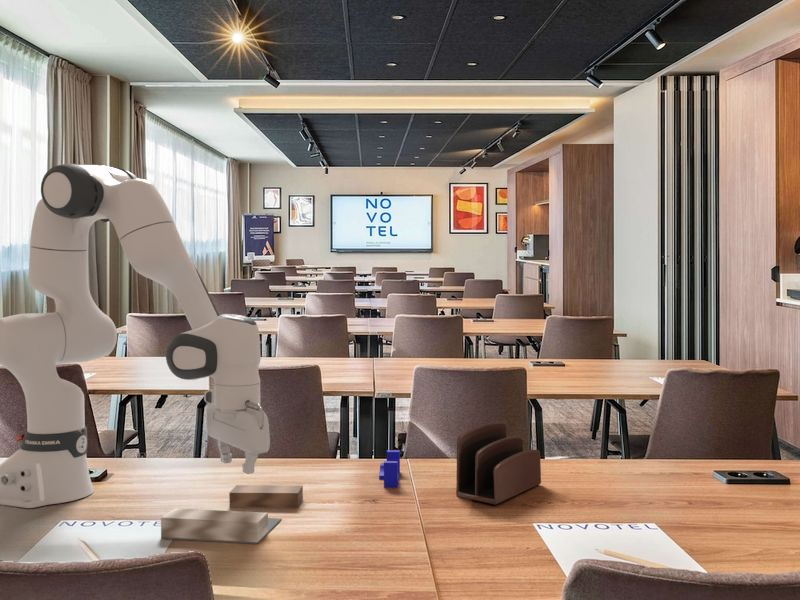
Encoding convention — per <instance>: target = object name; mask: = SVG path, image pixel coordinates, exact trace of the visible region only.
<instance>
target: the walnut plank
mask: <svg viewBox="0 0 800 600" xmlns="http://www.w3.org/2000/svg"><path fill="white" fill-rule="evenodd" d="M303 486H304V485H293V484H292V485H283V484H282V485H280V484H279V485H278V484H277V485H276V484H275V485H273V484H271V485H270V484H267V485H266V484H256V485H254V484H252V485H251V484H246V485H245V484H244V485H243V484H236V485H235V486H234V487H233V488H232V489H231V490H230V492H228V494H229V499H228V500H229V507H230V508H264V509H265V508H268V509H269V508H270V509H272V508H273V509H274V508H275V509H276V508H279V509H298V508H299V507H300V506H301V503H302V502H303V499H304V496H303V495H304V488H303Z"/></svg>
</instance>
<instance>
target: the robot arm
mask: <svg viewBox="0 0 800 600" xmlns="http://www.w3.org/2000/svg"><path fill="white" fill-rule="evenodd" d="M40 195H41V199H40V200H39V201H38V202H37V205H36V207H35V211H34V214H33V219H32V225H31V230H30V238H29V239H30V240H29V258H28V260H29V261H28V262H29V263H28V264H29V265H28V280H29V283H30V285H31V286H32V288H34V290H36V291H37V292H38V293H40V294H42V295H44V296H45V297H48V298H51V299H53V300H54V304H55V311H54V312H33V313H19V314H13V315H8V316H5V317H0V365H1V366H2V367H4V368H5V369H7V371H9V372H10V373H11V374H12V375H13V376H14V377H15V378H16V380H17V382H18V383H19V385H20V386H21V389H22V391H23V395H24V399H25V400H24V401H25V408H26V419H27V427H26V428H27V430H26V431H24V432H23V433H22V434H19V435H15V438H17V439H16V440H15V442H19V441H21V443H20V445H19V448H18V450H16V451H15V452H14V453H13V454H12V455H10V456H9V457H8V458H6V459H5V460H4V461H3V462H2V463H0V505H2V506H9V507H10V506H11V507H18V508H24V509H33V508H39V507H42V506H47V505H55V504H56V505H57V504H62V503H68V502H73V501H77V500H79V499H80V500H81V499H82V498H83V499H84V498H86V497H88V496H90V495H91V494H93V493H94V492H95V489H94V485H93V483H92V479H91V475H90V471H89V466H88V465H89V464H88V459H87V457H88V456H87V451H88V450H87V449H88V427H86V424H85V422H86V420H85V419H86V418H85V416H86V415H85V412H86V411H85V394H84V392H83V390H82V388H81V387H79V386H78V385H77V384H75V383H73V382H71V381H68V379H67V380H66V379H64V378H61V377H60V376H59V374H58V371H57V365H61V364H73V363H85V362H86V363H87V362H90V361H96V360H98V359H102V358H104V357H107V356H109V355H110V354H111V353H112V352H113V351H114V349H115V348H116V347H115V346H116V344H117V341H118V331H117V327H116V325H115V323H114V321H113V320H112V318H111V317H109V315H107V314H105V313H104V312H103V311H102V310H101V309H100V308H99V307H98V305H97V304H96V302H95V301H94V299H93V296H92V294H91V291H90V287H89V277H88V271H89V270H88V261H89V260H88V258H89V235H90V230H91V227H92V226H93V224H95V222H98V221H99V220H100V221H101V222H103V223H107V222H111V223H112V225H113V226H114V227H113V228H114V229H115V232H116V235H117V238H118V240H119V243H120V245H121V248H122V250H123V253H124V255H125V258H126V259H127V261H128V263H129V264H130V266H131V267H132V268H133V269H134V271H135V272H137V273H138V274H139V275H141V276H142V277H145V278H147V279H149V280H152V281H154V282H155V283H158V284H159V285H161V286H163V287H164V288H165V289H167V290H169V291H170V292H171V293H172V294H173V296H174V297H175V299H177V301H178V303H179V305H180V307H181V310H182V311H183V312H182V313H184V315H185V317H186V319H187V322H188V323H189V326H190V327H191V330H187V331H185V332H181V333H179V334H177V335H175V336H174V337H172V338H171V339H170V341H169V343H168V345H167V346H166V349H165V360H166V364H167V367H168V369H169V370H170V372H171V373H172V375H174V376H175V377H177V378H179V379H181V380H187V381H196V380H200V379H205V378H208V377H209V378H212V379H213V382H214V383H213V384H214V385H213V388H211V389H208V390H206V391H204V395H203V400H204V402H205V403H206V406H205V421H206V422H205V423H206V425H205V426H206V431H207V434H208V437H210V438H212V439H215V440H217V447H218V450H219V451H218V452H219V453H220V462H221V463H222V464H230V463H232V462H233V453H231V450H230V446H231V447H234V448H237V449H238V450H241V451H243V452H244V457H245V461H244V463H242V472H243V473H244V474H247V475H250V474H254V473H255V464H256V462H257V460H258V457H259V455H260V454H264V453H265V454H266V453H268V451H269V450H270V448H271V447H270V446H271V442H270V441H271V438H270V437H271V435H270V425H269V418H268V416H267V414H266V413H265V411H264V410H263V407H262V405H261V377H260V374H259V373H260V371H259V367H260V365H261V364H260V363H261V359H262V357H261V337H260V331H259V327H258V324H257V322H256V321H255V320H254V319H252V318H251V317H249V316H246V315H241V314H235V313H234V314H233V313H224V314H223V313H222V314H220V313H219V311H218V309H217V307H216V305H215V302H214V300H213V299H212V297H211V295H210V292H209V290H208V289H207V287H206V284H205V282H204V280H203V279H202V276H201V274H200V273H199V271H198V269H197V268H196V266H195V264H194V263H193V261H192V259H191V256H190V254H188V251H187V249H186V247H185V245H184V242H183V239H182V238H181V235H180V233H179V230H178V227H177V225H176V223H175V221H174V218H173V216H172V214H171V212H170V210H169V208H168V206H167V203H166V202H165V200H164V198H163V197H162V195H161V194H160V192H159V191H158V189H157V187H156V186H155V185H154V184H153V183H152V182H151V181H149V180H147V179H143V178H138V177H137V176H136V175H135V174H134V173H132V172H130V171H129V170H126V169H124V168H121V167H112V166H108V165H101V164H77V163H63V164H58V165H55V166H53V167H51V168H49V170H47V171H46V173H45V174H44V176H43V178H42V180H41V183H40Z"/></svg>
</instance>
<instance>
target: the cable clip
mask: <svg viewBox="0 0 800 600" xmlns="http://www.w3.org/2000/svg"><path fill="white" fill-rule="evenodd" d="M400 452H401V450H398V449H397V450H395V449H393V450H390V449H389V450H388V449H387V450H386V460H384V461H383V462H380V466H379V476H378V479H379V480H383V488H392V489H393V488H395V489H396V488H399V487H398V486H399V480H400V475H401V474H400V473H401V453H400Z"/></svg>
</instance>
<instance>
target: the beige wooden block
mask: <svg viewBox="0 0 800 600" xmlns="http://www.w3.org/2000/svg"><path fill="white" fill-rule="evenodd" d="M268 515H269V512H264V511H263V512H260V511H259V512H257V511H256V512H255V511H239V510H238V511H235V510H217V509H216V510H215V509H199V508H198V509H197V508H196V509H195V508H193V509H192V508H177V507H175V508H173V509H172V510H170V511H169V512H167V513H166V514H164V515H162V516H161V517H160V538H161V537H169V538H188V539H206V540H225V541H243V542H258V541H259V540H260V539H261V538H262V537H263V536H264V535H265V534H266V533H267V532H268V518H269V516H268Z"/></svg>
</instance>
